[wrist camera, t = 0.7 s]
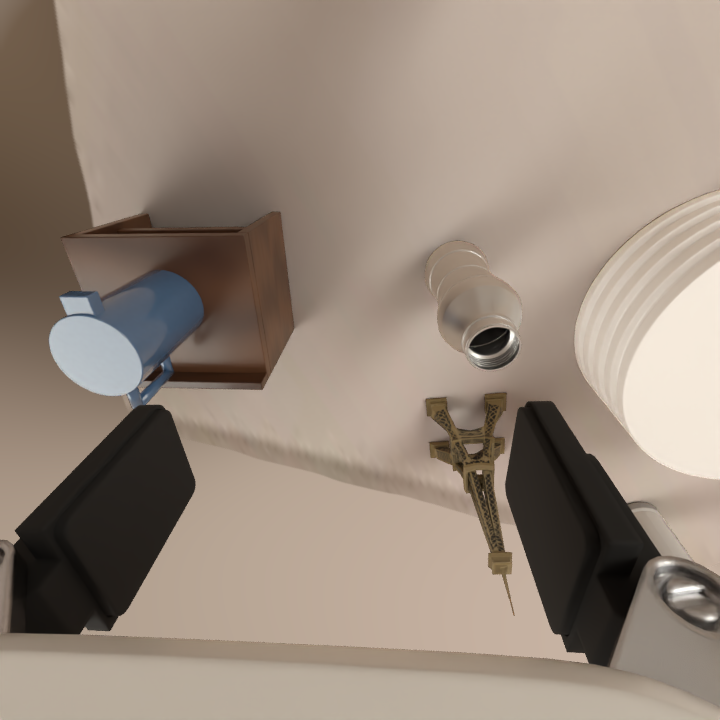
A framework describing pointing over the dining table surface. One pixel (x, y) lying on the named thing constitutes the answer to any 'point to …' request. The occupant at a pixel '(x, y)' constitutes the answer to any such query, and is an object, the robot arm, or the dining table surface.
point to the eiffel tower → (478, 461)
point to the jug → (126, 334)
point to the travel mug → (658, 530)
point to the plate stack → (661, 337)
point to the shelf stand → (203, 291)
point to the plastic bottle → (474, 306)
